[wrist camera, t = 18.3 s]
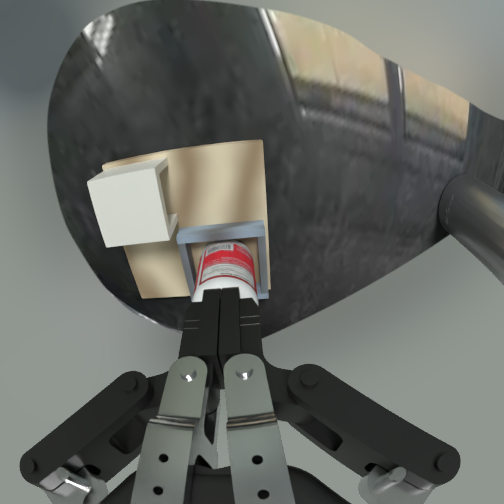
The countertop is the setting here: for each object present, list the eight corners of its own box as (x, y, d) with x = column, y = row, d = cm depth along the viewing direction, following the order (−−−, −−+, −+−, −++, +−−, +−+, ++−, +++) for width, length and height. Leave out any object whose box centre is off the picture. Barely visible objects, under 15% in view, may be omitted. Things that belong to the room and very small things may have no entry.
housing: (166, 157, 25) (154, 167, 21) (178, 220, 29) (169, 240, 25) (106, 169, 25) (87, 181, 21) (121, 227, 29) (106, 247, 25)
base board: (261, 139, 26) (265, 144, 23) (269, 283, 35) (272, 302, 32) (106, 163, 26) (91, 171, 23) (144, 292, 35) (137, 311, 32)
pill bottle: (231, 289, 34) (230, 361, 25) (190, 263, 32) (174, 333, 22) (264, 256, 32) (276, 326, 22) (222, 225, 29) (216, 291, 20)
